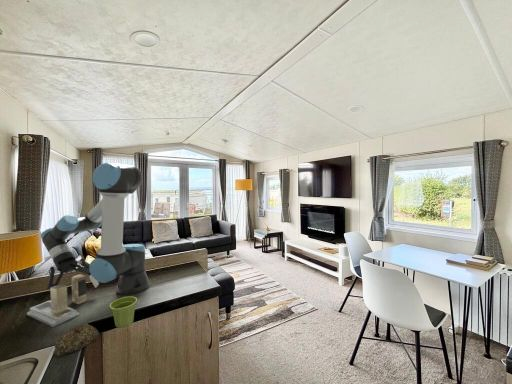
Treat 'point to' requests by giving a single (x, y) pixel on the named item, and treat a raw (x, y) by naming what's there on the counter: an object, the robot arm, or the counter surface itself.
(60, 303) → the base plate with posts
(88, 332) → the bread roll
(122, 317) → the plant pot
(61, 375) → the counter surface
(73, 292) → the beech finger
